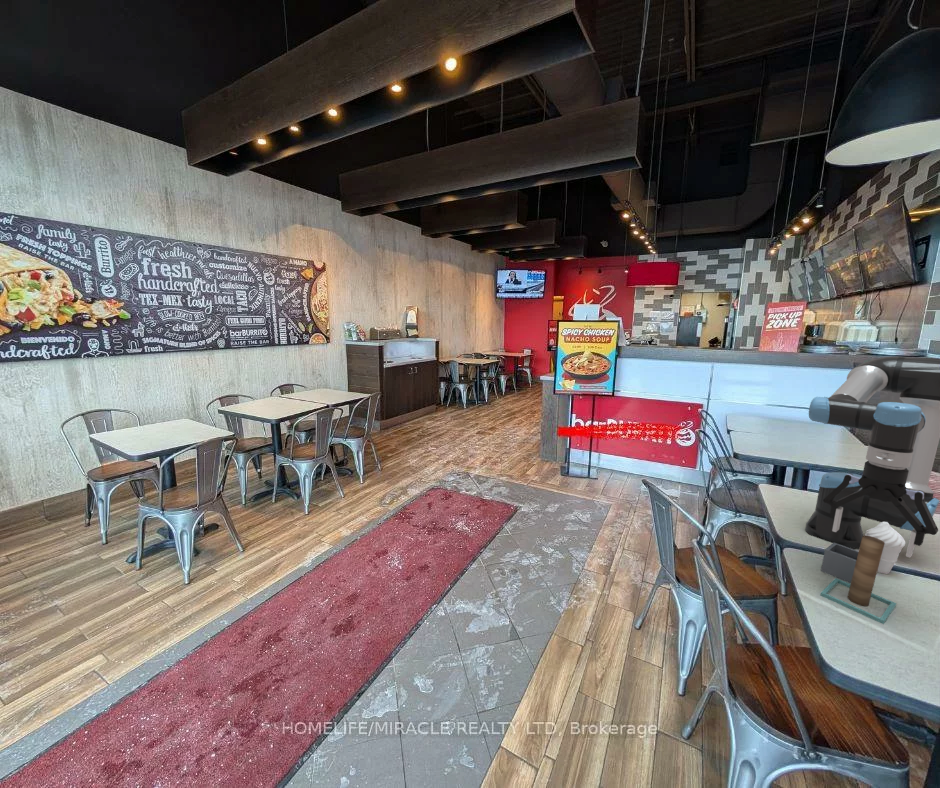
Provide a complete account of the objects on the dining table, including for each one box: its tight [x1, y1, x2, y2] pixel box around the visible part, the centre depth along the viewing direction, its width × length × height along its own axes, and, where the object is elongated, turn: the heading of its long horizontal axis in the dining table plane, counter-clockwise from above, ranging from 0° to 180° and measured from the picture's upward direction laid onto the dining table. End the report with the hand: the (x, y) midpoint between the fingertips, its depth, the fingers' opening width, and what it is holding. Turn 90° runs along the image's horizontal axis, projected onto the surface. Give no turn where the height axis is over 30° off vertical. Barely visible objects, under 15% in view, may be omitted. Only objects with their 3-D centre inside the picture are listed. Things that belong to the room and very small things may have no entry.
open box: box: [820, 542, 859, 584], centre depth 113 cm, size 8×8×8 cm
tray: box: [819, 577, 897, 625], centre depth 102 cm, size 12×12×2 cm
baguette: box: [847, 535, 885, 607], centre depth 101 cm, size 4×4×18 cm
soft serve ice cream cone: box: [864, 522, 906, 575], centre depth 115 cm, size 8×8×16 cm
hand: (870, 542), depth 100 cm, fingers open, 13 cm apart
